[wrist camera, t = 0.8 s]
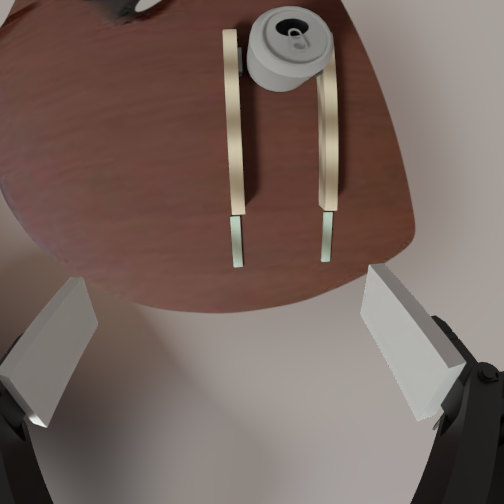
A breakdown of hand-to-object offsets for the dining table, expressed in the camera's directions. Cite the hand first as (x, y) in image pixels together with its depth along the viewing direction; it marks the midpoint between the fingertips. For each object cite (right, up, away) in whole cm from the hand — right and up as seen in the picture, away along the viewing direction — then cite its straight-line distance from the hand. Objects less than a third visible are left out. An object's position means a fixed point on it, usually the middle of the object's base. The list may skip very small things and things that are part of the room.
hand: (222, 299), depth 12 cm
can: (+4, +24, +17) cm, 30 cm away
